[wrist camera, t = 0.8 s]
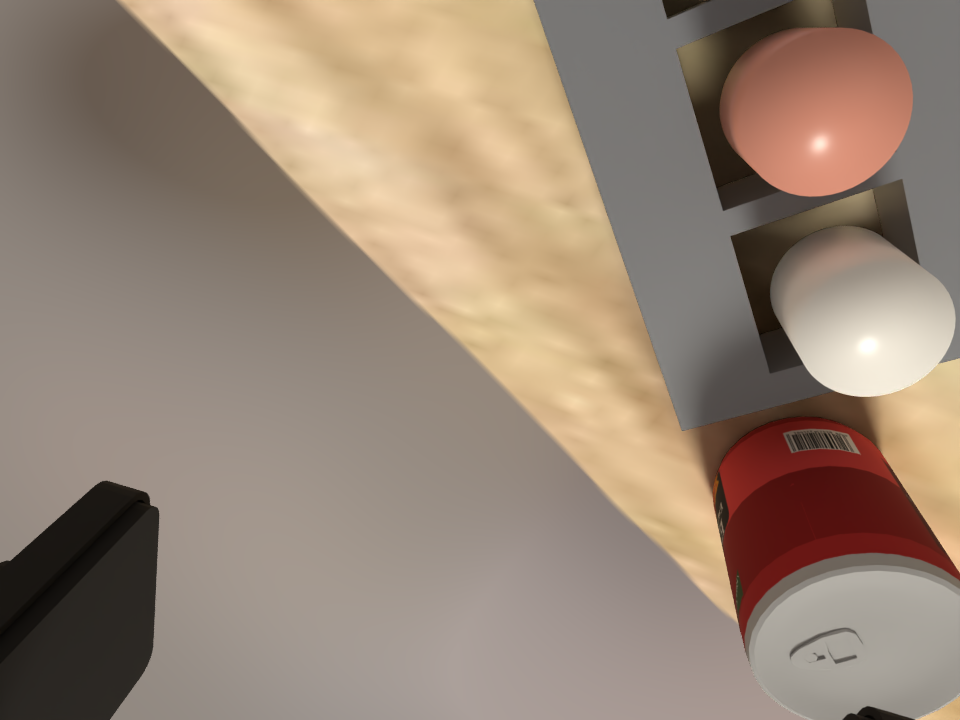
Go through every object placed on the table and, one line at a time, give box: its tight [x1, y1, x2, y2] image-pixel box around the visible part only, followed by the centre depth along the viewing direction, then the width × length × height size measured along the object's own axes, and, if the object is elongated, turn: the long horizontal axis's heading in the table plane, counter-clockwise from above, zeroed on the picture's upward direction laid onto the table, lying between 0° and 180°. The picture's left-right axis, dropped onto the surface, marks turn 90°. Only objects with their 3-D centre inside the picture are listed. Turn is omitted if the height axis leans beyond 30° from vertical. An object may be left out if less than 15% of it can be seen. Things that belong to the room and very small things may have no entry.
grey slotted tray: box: [534, 0, 960, 431], centre depth 27 cm, size 14×23×4 cm, turn 22°
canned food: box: [713, 417, 960, 720], centre depth 31 cm, size 8×8×11 cm
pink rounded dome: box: [720, 28, 913, 197], centre depth 23 cm, size 5×5×4 cm
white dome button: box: [770, 226, 956, 397], centre depth 25 cm, size 5×5×4 cm
